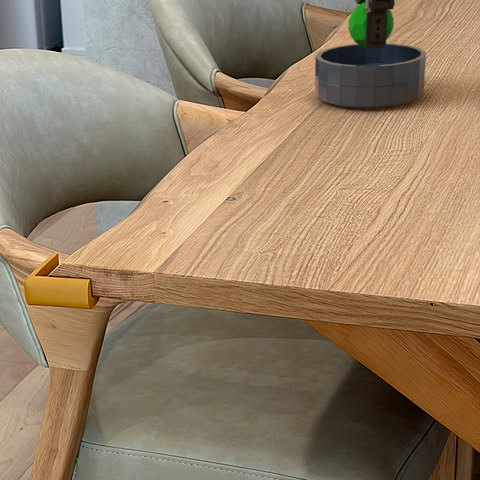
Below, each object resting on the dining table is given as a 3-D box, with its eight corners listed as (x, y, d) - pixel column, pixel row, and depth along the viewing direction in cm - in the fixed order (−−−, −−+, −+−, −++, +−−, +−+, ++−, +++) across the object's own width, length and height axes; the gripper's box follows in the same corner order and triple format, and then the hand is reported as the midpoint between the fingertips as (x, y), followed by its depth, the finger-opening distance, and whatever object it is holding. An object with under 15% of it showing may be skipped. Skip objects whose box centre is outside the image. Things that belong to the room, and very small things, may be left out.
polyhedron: (355, 40, 107) (356, -2, 105) (396, 42, 105) (399, -2, 103) (342, 49, 103) (343, 6, 101) (385, 51, 101) (387, 6, 99)
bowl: (445, 94, 106) (448, 50, 104) (376, 117, 100) (378, 71, 97) (362, 79, 115) (363, 39, 113) (293, 100, 108) (293, 57, 106)
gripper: (429, -121, 90) (418, 54, 98) (398, -126, 102) (390, 29, 110) (353, -116, 90) (347, 58, 98) (331, -122, 103) (328, 33, 111)
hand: (370, 42), depth 104 cm, fingers closed on polyhedron, 5 cm apart
